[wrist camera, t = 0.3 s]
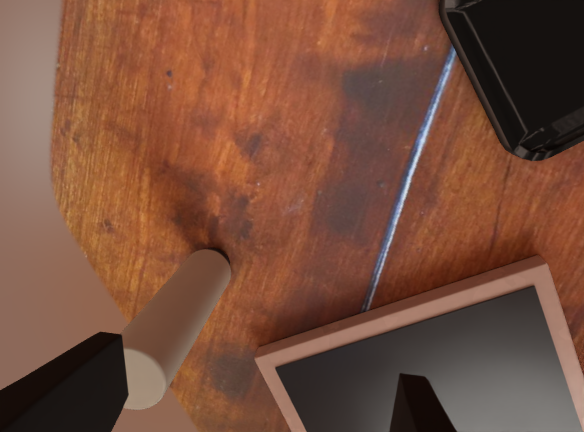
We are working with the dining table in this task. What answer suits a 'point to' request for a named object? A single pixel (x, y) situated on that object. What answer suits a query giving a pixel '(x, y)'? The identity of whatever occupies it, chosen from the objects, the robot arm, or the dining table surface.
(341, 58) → the dining table surface
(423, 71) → the dining table surface
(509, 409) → the tablet
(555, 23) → the phone
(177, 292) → the stylus
